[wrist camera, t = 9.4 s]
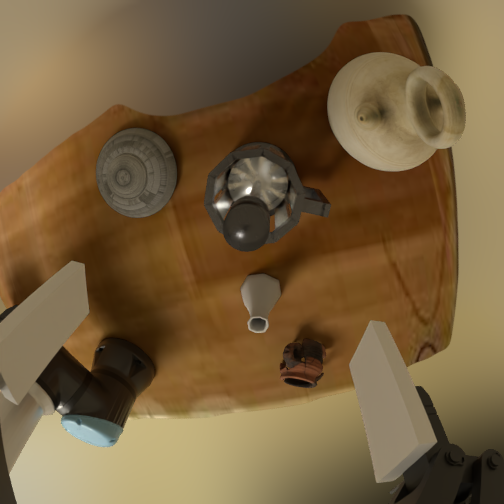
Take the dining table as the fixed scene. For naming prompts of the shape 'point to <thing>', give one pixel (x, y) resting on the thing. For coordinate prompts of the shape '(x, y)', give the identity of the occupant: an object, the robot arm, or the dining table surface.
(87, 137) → the dining table surface
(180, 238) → the dining table surface
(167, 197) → the flying saucer
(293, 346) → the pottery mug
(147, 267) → the dining table surface
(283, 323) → the dining table surface
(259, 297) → the flask
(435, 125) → the jug
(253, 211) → the plunger
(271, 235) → the press carafe
